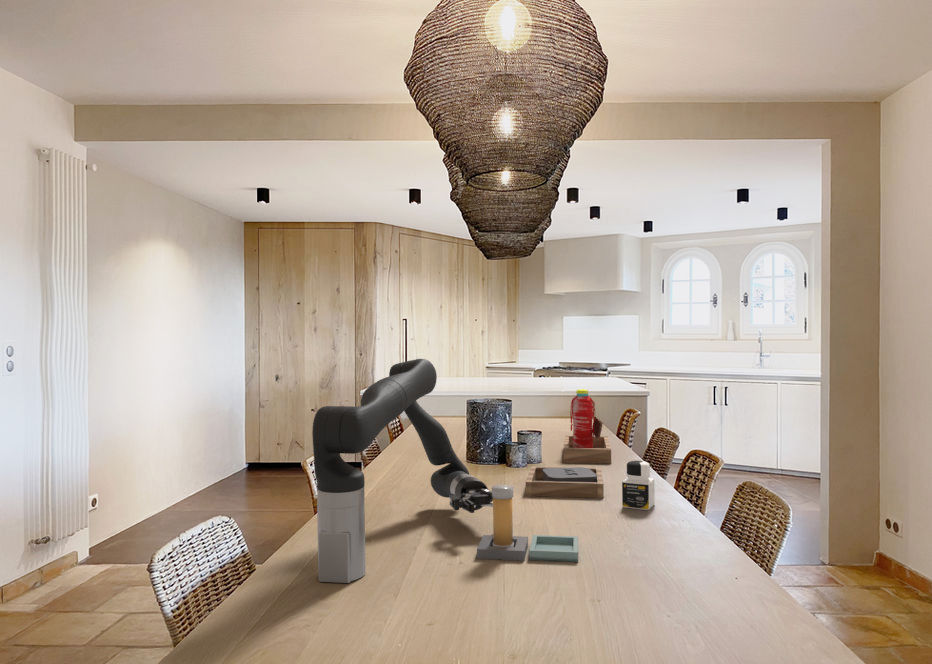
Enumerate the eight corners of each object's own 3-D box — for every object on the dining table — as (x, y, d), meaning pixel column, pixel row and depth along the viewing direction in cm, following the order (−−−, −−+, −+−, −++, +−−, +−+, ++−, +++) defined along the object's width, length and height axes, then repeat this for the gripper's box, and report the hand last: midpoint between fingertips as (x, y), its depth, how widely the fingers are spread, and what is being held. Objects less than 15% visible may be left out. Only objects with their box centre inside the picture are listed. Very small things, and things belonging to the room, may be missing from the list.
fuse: (512, 555, 146) (512, 490, 146) (491, 555, 147) (490, 489, 147) (514, 549, 151) (514, 485, 151) (494, 548, 152) (493, 484, 152)
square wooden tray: (603, 497, 196) (603, 483, 196) (526, 495, 199) (525, 481, 199) (601, 480, 217) (601, 468, 217) (531, 479, 221) (531, 466, 221)
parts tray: (578, 562, 142) (578, 552, 142) (529, 560, 144) (529, 550, 144) (578, 545, 153) (578, 536, 153) (533, 543, 154) (533, 534, 154)
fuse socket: (524, 560, 143) (524, 551, 143) (476, 558, 145) (476, 549, 145) (528, 545, 153) (528, 536, 153) (483, 543, 155) (483, 535, 155)
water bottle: (602, 453, 264) (602, 388, 264) (603, 457, 256) (602, 390, 256) (571, 453, 266) (570, 388, 266) (570, 456, 258) (569, 390, 258)
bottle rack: (611, 463, 245) (611, 449, 245) (563, 462, 248) (563, 448, 248) (607, 448, 275) (607, 436, 275) (565, 448, 277) (565, 435, 277)
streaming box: (599, 494, 201) (599, 476, 201) (550, 496, 200) (550, 478, 200) (587, 483, 215) (586, 467, 215) (541, 484, 214) (541, 468, 214)
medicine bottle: (622, 507, 185) (621, 462, 185) (628, 501, 191) (628, 458, 191) (648, 510, 181) (648, 465, 181) (654, 504, 188) (654, 460, 188)
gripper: (441, 478, 169) (460, 492, 154) (495, 474, 174) (519, 487, 158) (441, 509, 169) (461, 526, 154) (495, 504, 174) (520, 520, 158)
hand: (490, 506), depth 156 cm, fingers open, 8 cm apart
